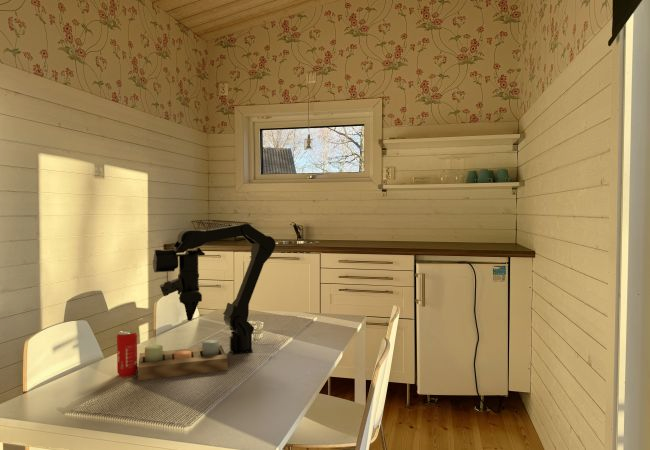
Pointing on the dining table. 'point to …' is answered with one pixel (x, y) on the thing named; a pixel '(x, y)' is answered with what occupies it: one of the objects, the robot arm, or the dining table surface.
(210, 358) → the wooden compartment tray
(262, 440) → the dining table surface
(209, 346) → the sage green rounded cylinder
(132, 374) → the beverage can
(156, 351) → the button sage
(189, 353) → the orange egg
